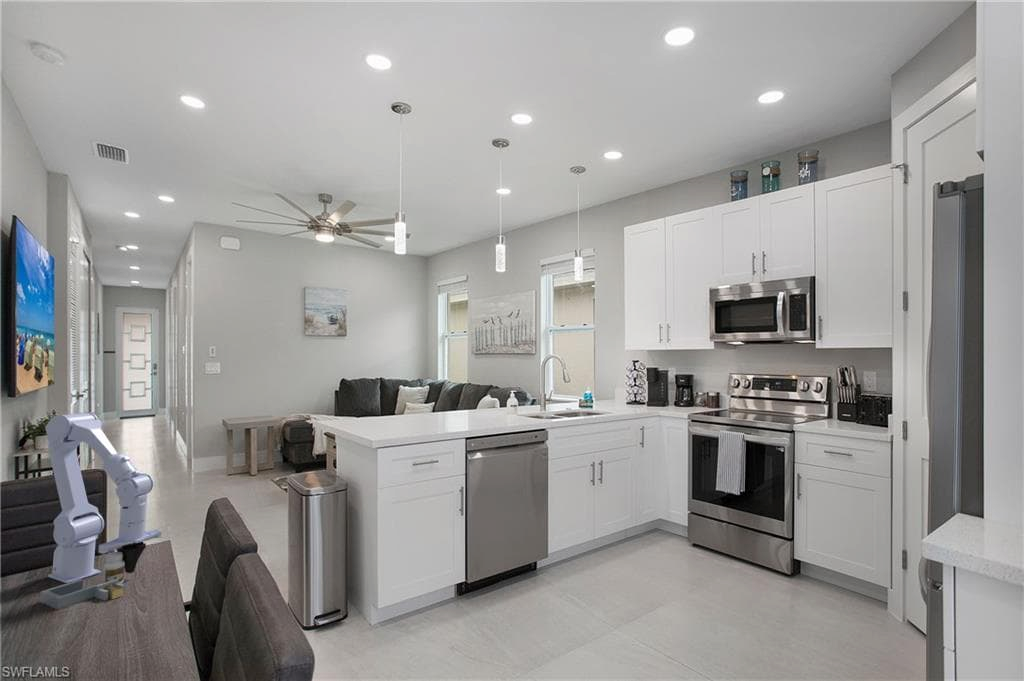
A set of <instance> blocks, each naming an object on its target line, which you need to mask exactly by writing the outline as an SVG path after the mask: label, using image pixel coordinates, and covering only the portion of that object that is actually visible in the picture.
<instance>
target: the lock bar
mask: <svg viewBox="0 0 1024 681" xmlns="http://www.w3.org/2000/svg"><path fill="white" fill-rule="evenodd" d="M102 589H105V590H107V591H109V592H108V597H109V598H110V600H114V599H116V598H117V599H118V598H120V597H122V596H124V594H123V589H124V588H122V587H121V588H116V587H113V586H110V585H109V586H106V587H103V588H102Z"/></svg>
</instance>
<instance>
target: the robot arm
mask: <svg viewBox="0 0 1024 681" xmlns="http://www.w3.org/2000/svg"><path fill="white" fill-rule="evenodd" d="M44 429H45V431H46V432H45V433H46V436H47V440H48V445H47V448H48V453H49V459H50V462H51V466H52V471H53V475H54V480H55V484H56V489H57V493H58V498H59V502H60V507H61V510H62V511H61V512H60V513H59V514H58V515H57V516H56V518H54V520H53V526H54V529H53V536H52V537H53V541H55V543H56V544H57V546H56V548H55V550H54V551H53V561H52V572H51V574H50V573H49V574H48V575H47V577H48V578H50V579H53V580H56V581H59V582H62V583H64V584H67V583H70V582H74V581H77V580H80V579H82V580H83V579H85V578H89V577H92V576H95V575H98V574H101V572H102V571H101V570H99V569H95V555H96V554H95V551H96V541H97V539H99V534H101V533H102V532H103V530H104V527H105V520H104V518H103V516H102V515H101V514H100V512H99V508H98V507H97V506H95V505H93V504H91V503H89V501H88V497H87V493H86V488H85V484H84V479H83V475H82V471H81V466H80V463H79V462H80V461H79V457H78V453H77V448H78V447H79V446H80V444H81V443H86V445H87V446H88V447H89V448H90V450H92V451H93V452H94V453H95V454H96V455H97V456H98V457H99V458H100V459H101V460H102V461H103V464H102V469H103V470H104V472H105V473H106V474H107V475H108V476H109V478H110V480H111V481H113V483H114V484H115V486H116V488H115V495H116V496H117V499H118V504H119V506H120V507H119V508H120V510H119V524H118V526H119V527H118V538H116V539H112V540H110V541H108V542H105V543H101V544H98V553H99V554H102V555H103V554H106V553H108V552H110V551H111V552H112V551H114V550H116V552H122V553H123V557H122V559H121V560H123V561H124V562H125V567H124V573H127V574H132V573H135V569H136V566H137V564H138V562H139V559H140V557H141V555H142V553H143V552H144V551H145V549H146V546H147V543H145V542H146V541H151V540H153V539H160V538H162V533H163V532H162V530H161V529H154V530H148V531H146V523H147V522H146V521H147V520H146V519H147V507H148V506H147V504H148V494H149V493H151V492H152V490H153V487H154V481H153V479H152V476H151V475H150V474H148V473H143V472H142V471H140V470H138V468H137V467H136V466H135V464H134V463H133V462H132V461H131V458H130V457H129V456H128V455H126V454H123V453H118V452H117V450H116V449H115V448H114V446H113V445H112V443H111V441H110V440H109V439H108V437H107V435H106V434H105V432H104V431H103V430H102V421H101V420H100V419H99V418H98V416H97V415H96V414H95V413H93V412H90V411H87V412H83V413H70V414H57V415H55V416H53V417H51V419H50V420H49V422H48V423H47V424H46V425H45V428H44ZM77 517H78V518H77Z"/></svg>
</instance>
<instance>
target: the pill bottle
mask: <svg viewBox="0 0 1024 681" xmlns="http://www.w3.org/2000/svg"><path fill="white" fill-rule="evenodd" d="M122 557H123V553H122V552H117V551H114V552H111V553H109V554H106V556H105V561H106V563H104V565H103V568H102V569H103V570H102V571H103V572H102V575H103V576H102V583H105V582H108V581H111V580H114V579H119V582H118V583H121V584H124V582H125V568H124V567H125V562H124V561H123V560H122ZM110 586H112V585H110Z"/></svg>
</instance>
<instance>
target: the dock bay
mask: <svg viewBox="0 0 1024 681" xmlns="http://www.w3.org/2000/svg"><path fill="white" fill-rule="evenodd" d="M118 582H119V579H114V580H111V581H108V582H105V583H103V582H102V583H100V584H94V585H91V586H88V587H84V585H83V584H84V579H83V578H82V579H79V580H76V581H72V582H69V583H64V584H61V585H57V586H55V587H52V588H48V589H46V590H42V591H40V595H39V596H40V597H39V602H40V601H41V602H43V603H45V604H47V605H46V606H48V605H49V606H48V607H50V606H51V607H50V608H53V609H55V610H59V609H63V608H66V607H69V606H72V605H74V604H77V603H80V602H84V601H86V600H89V599H92V598H96V599H99V600H102V601H107V600H108V599H109V596H108V592H109V591H107V590H105V589H102V588H103V587H106V586H109V585H112V586H113V587H116V588H121V587H122V588H124V589H123V595H124V594H126V584H124V583H122V584H121V583H118ZM43 603H42V604H43ZM45 604H44V605H45Z"/></svg>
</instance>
